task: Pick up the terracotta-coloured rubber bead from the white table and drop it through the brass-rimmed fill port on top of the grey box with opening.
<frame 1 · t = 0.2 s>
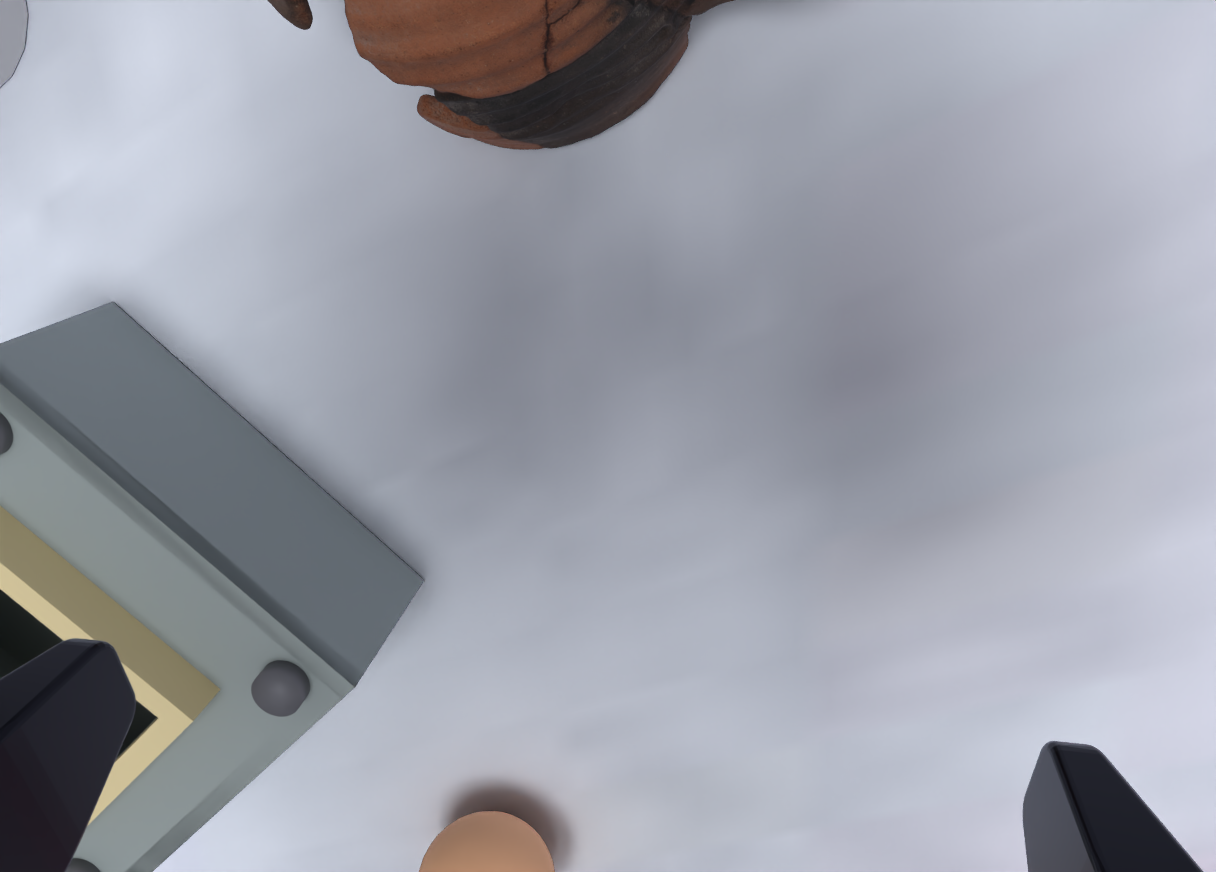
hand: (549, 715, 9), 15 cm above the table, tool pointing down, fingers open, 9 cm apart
grey box with opening: (158, 574, 28), on the table
bead: (503, 833, 30), on the table
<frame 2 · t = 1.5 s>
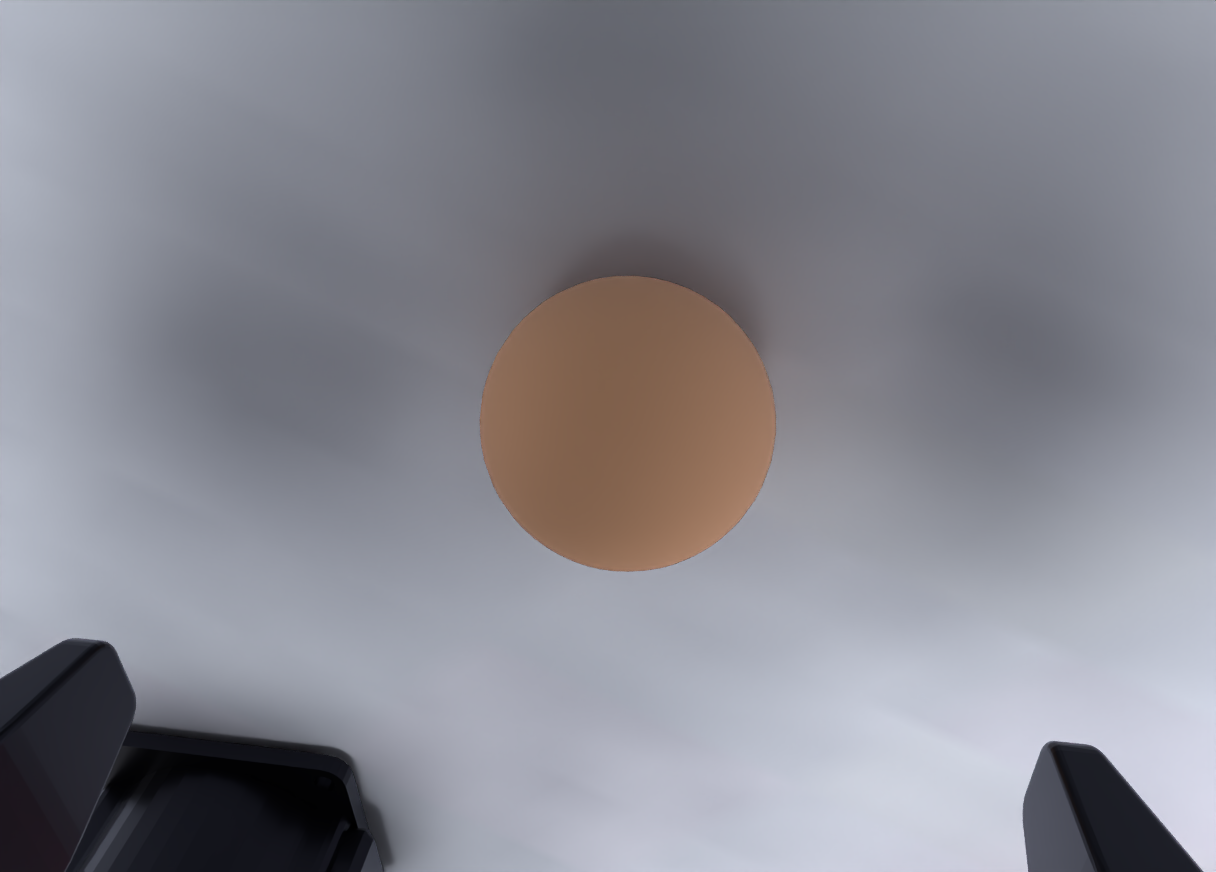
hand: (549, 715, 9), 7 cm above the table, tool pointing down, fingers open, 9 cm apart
bead: (645, 351, 15), on the table
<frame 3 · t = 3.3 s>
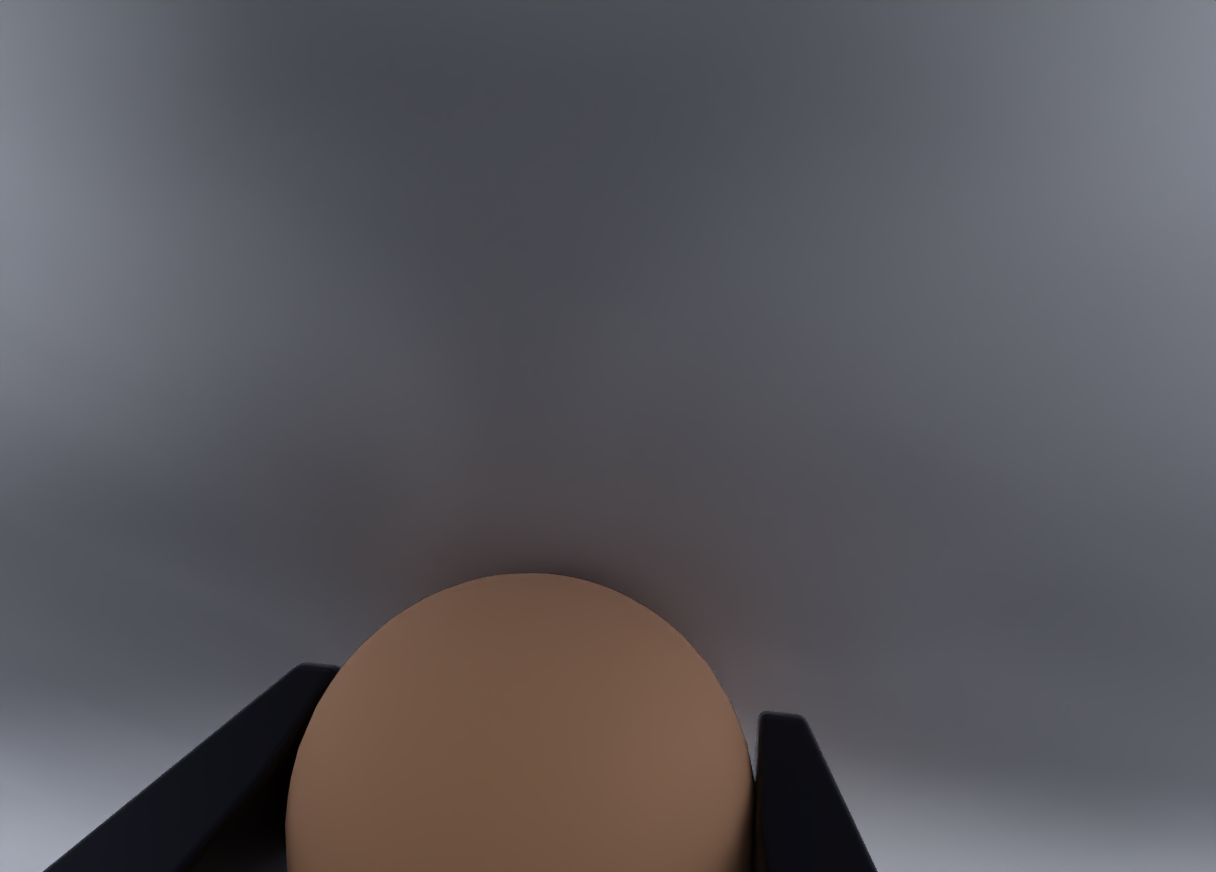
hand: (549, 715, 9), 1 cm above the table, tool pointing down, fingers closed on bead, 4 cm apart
bead: (568, 636, 10), on the table, touching gripper
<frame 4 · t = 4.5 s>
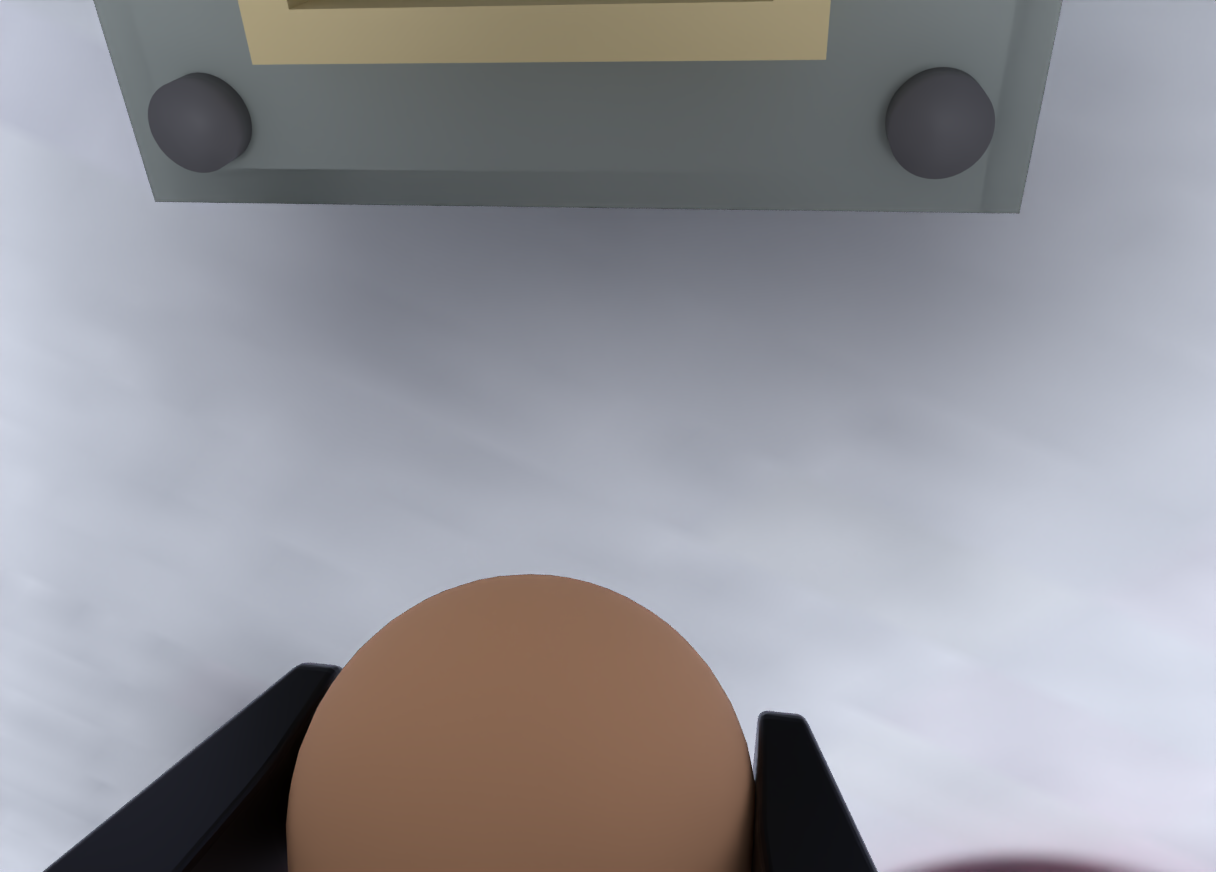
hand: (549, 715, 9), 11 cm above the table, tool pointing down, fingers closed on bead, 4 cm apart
bead: (569, 637, 10), point 10 cm above the table, touching gripper
when the fingers open (8 cm above the table, at t = 6.0 s): bead drops 7 cm, resting on grey box with opening.
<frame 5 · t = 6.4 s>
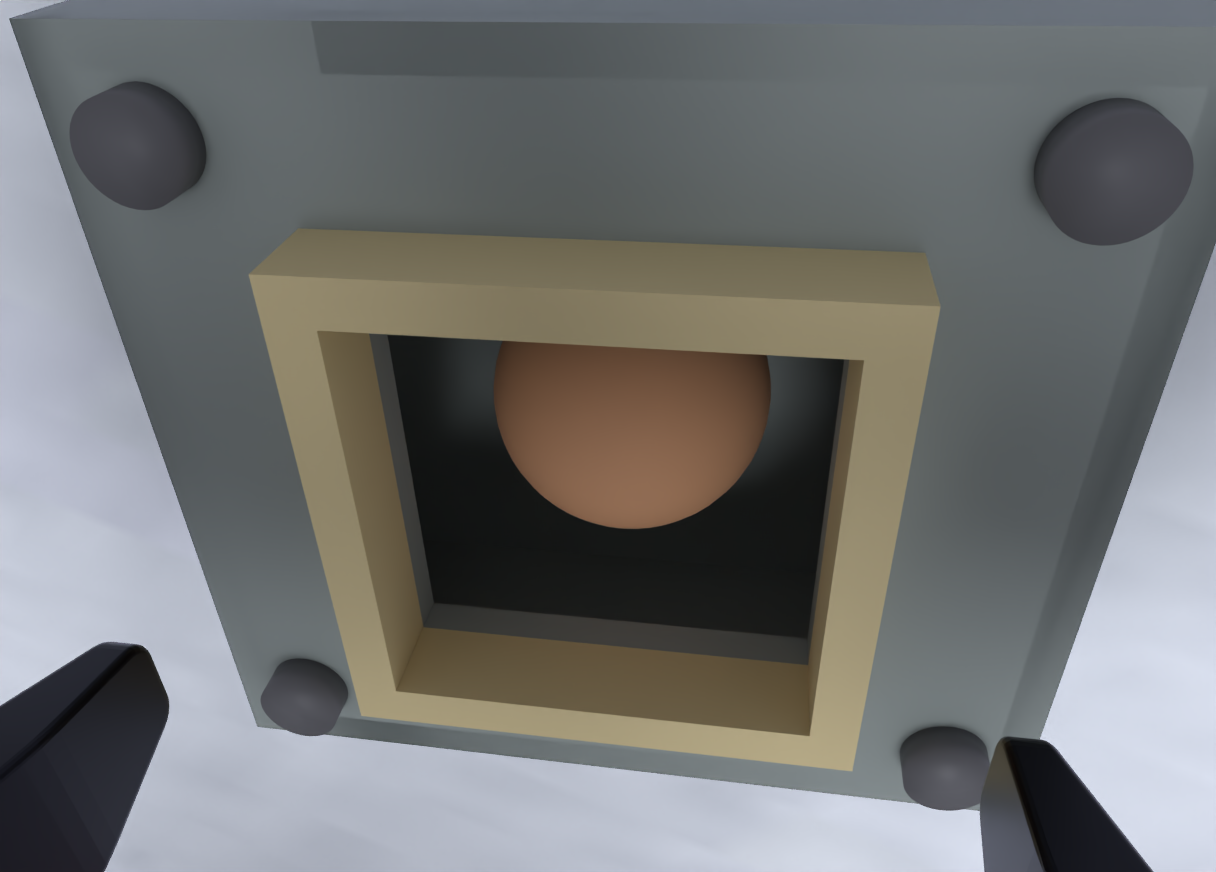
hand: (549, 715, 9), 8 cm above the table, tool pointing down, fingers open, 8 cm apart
grey box with opening: (651, 310, 16), on the table
bead: (647, 326, 16), point 1 cm above the table, touching grey box with opening
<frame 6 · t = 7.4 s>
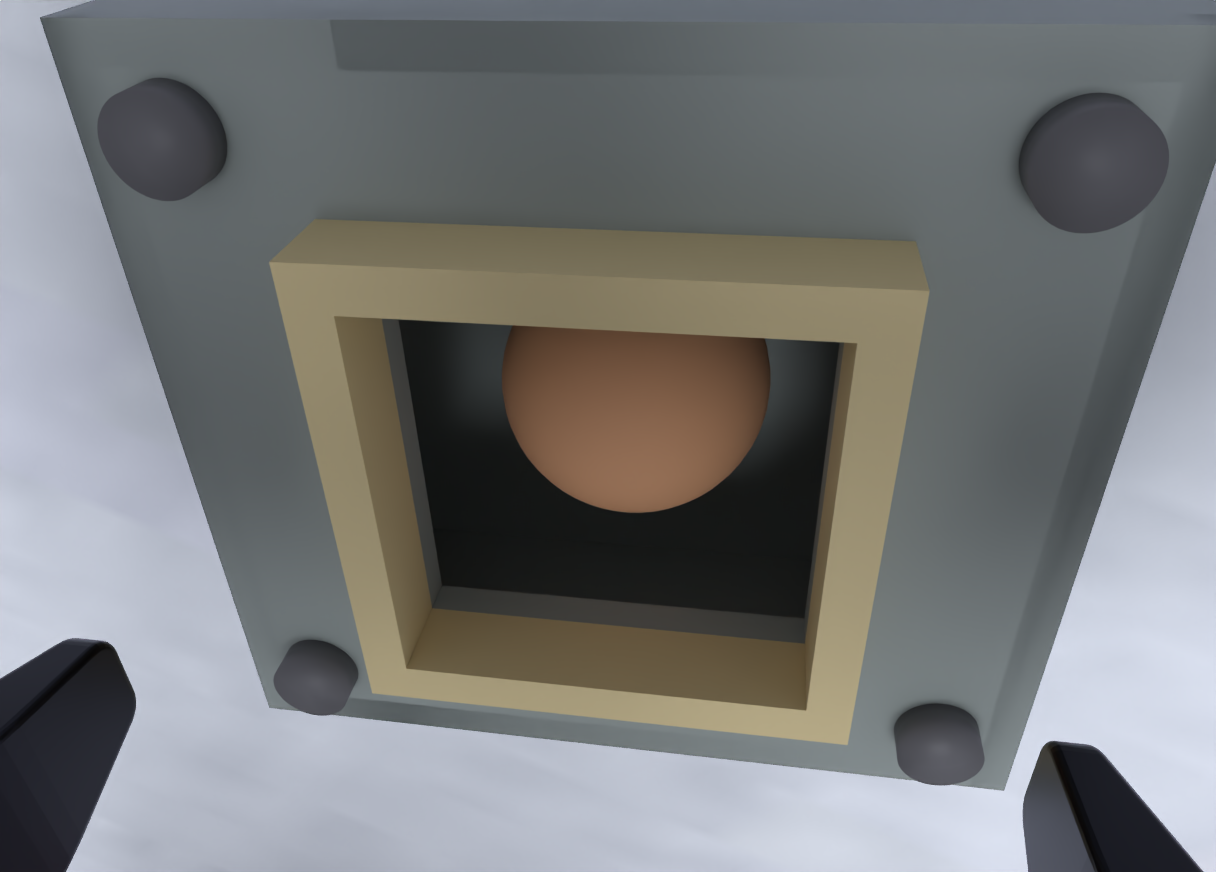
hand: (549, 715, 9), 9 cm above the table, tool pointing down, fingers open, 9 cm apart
grey box with opening: (653, 302, 17), on the table
bead: (649, 318, 16), point 1 cm above the table, touching grey box with opening
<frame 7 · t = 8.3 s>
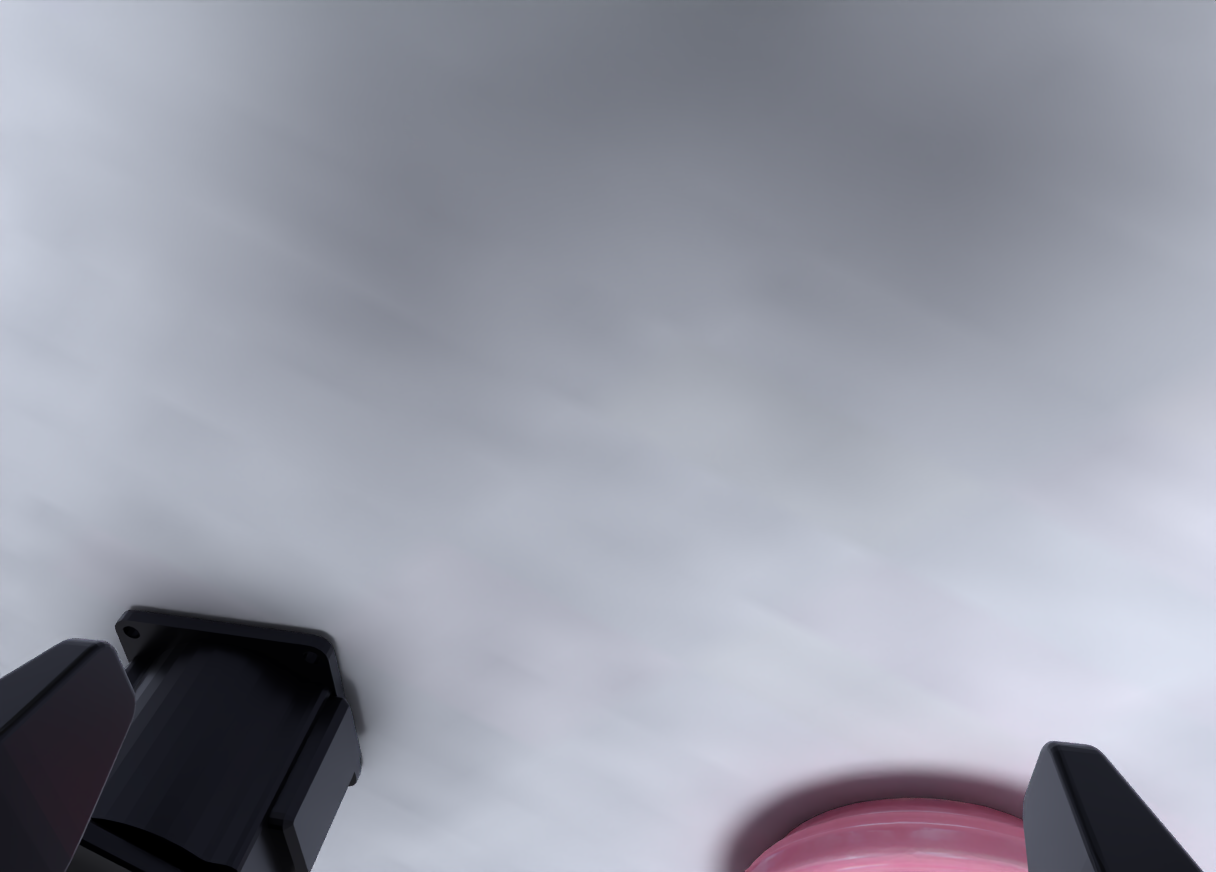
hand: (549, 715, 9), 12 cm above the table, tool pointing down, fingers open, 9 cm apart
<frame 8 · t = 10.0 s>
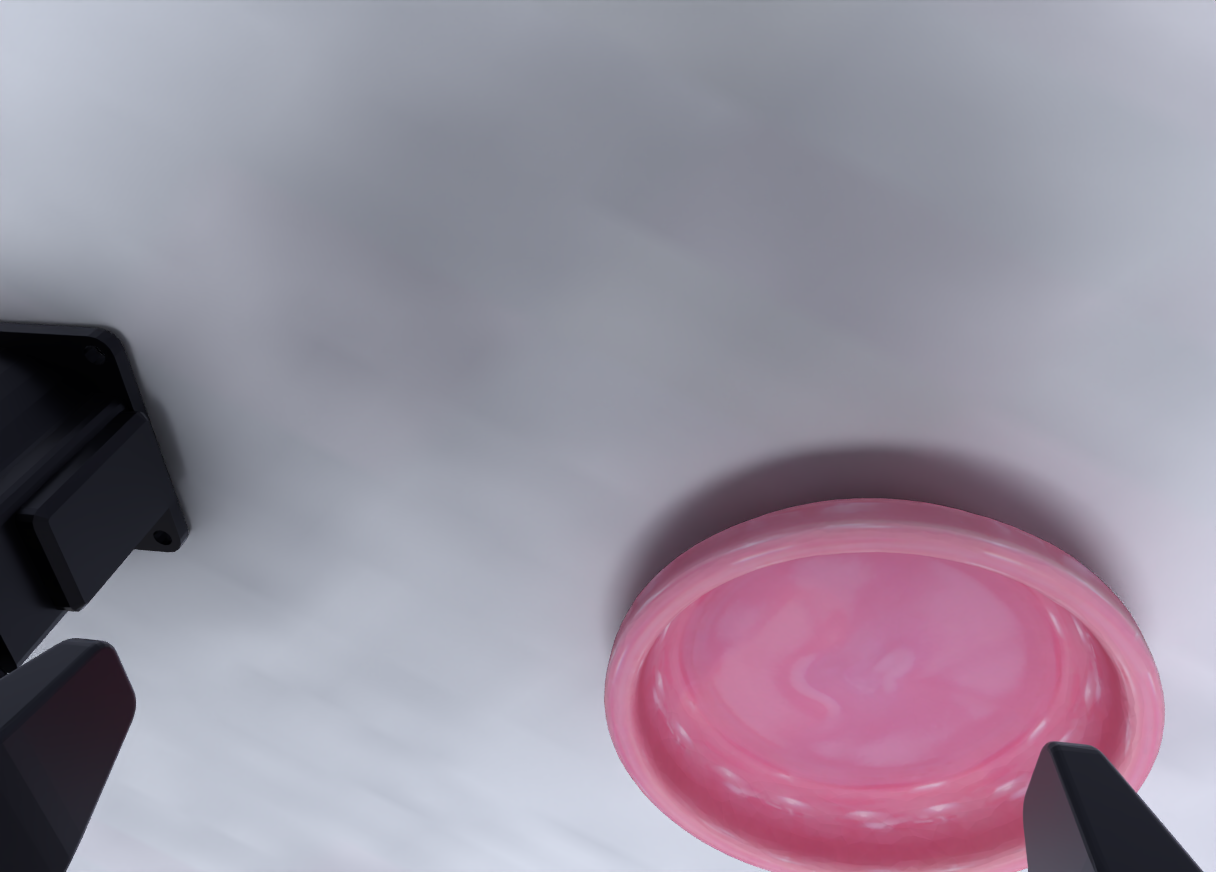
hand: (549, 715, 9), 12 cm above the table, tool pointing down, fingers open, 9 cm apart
saucer: (860, 635, 25), on the table
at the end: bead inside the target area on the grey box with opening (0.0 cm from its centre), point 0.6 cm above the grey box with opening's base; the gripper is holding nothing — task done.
